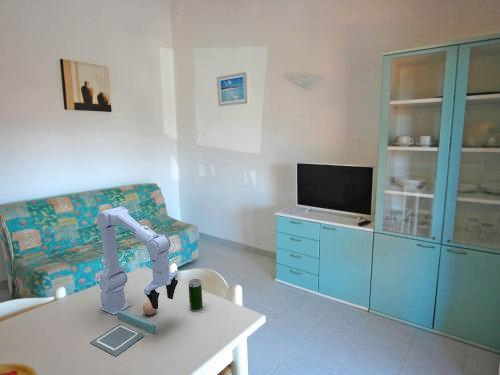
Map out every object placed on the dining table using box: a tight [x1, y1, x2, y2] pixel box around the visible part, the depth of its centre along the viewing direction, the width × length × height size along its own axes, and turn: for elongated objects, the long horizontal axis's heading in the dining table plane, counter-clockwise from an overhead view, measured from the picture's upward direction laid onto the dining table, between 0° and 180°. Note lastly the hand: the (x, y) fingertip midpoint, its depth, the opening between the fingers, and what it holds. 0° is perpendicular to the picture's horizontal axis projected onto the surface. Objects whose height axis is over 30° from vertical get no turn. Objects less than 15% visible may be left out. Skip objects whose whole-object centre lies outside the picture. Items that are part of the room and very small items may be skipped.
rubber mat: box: [89, 323, 146, 358], centre depth 110 cm, size 14×12×1 cm
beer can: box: [188, 278, 203, 312], centre depth 127 cm, size 5×5×12 cm
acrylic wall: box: [116, 310, 157, 335], centre depth 118 cm, size 20×1×3 cm, turn 60°
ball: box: [142, 299, 158, 316], centre depth 125 cm, size 6×6×6 cm
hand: (163, 303), depth 114 cm, fingers open, 7 cm apart
